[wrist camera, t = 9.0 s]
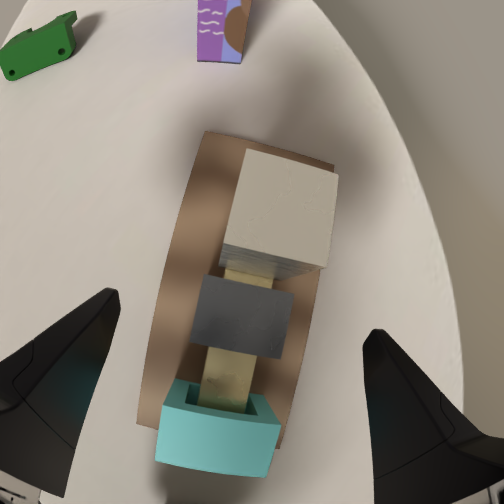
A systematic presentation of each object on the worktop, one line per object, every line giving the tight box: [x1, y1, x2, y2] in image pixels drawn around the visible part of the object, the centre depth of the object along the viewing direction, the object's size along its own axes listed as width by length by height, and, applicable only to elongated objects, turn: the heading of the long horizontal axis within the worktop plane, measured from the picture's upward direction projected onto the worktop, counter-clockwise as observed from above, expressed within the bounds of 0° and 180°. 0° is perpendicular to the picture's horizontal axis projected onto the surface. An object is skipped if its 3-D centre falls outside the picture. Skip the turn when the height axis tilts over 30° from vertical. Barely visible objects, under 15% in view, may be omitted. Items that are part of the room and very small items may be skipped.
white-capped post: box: [196, 149, 339, 414], centre depth 15 cm, size 16×4×10 cm, turn 168°
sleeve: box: [189, 274, 294, 360], centre depth 19 cm, size 4×5×5 cm
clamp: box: [0, 11, 77, 81], centre depth 21 cm, size 12×6×9 cm, turn 92°
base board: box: [136, 131, 334, 449], centre depth 22 cm, size 26×12×1 cm, turn 168°
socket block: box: [155, 378, 281, 478], centre depth 17 cm, size 4×7×6 cm, turn 78°
